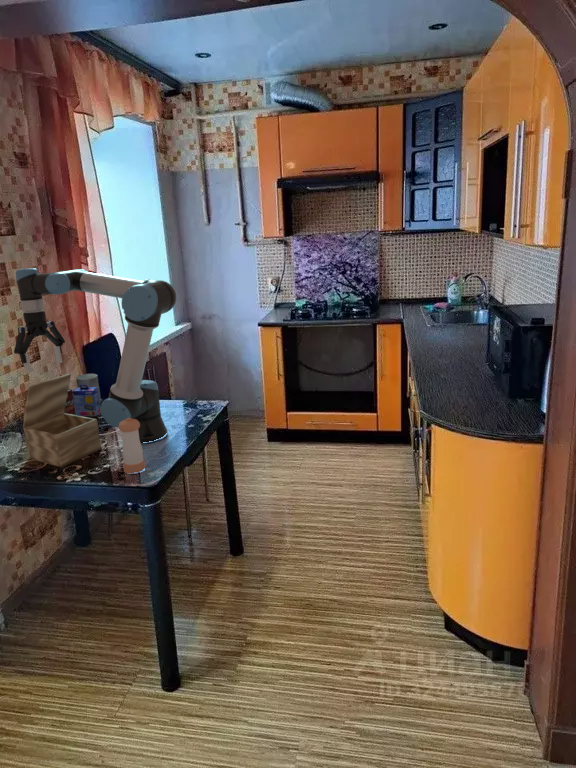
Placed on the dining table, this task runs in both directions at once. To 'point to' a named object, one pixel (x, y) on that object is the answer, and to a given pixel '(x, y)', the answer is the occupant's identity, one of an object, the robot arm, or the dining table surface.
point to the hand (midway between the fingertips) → (44, 366)
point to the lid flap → (46, 399)
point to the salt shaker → (131, 446)
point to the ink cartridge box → (86, 401)
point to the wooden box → (62, 439)
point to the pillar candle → (88, 381)
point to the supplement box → (69, 404)
